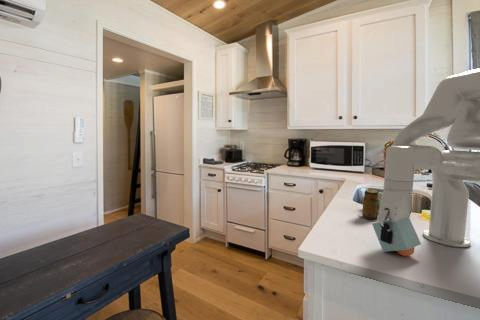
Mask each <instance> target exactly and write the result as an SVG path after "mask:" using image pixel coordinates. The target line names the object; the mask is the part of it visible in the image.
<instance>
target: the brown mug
mask: <svg viewBox="0 0 480 320" xmlns="http://www.w3.org/2000/svg"><path fill="white" fill-rule="evenodd" d="M363 195H364V196H363V198H362V199H363V200H362V213H361V214H357V216H358V217H360V218H363V219H365V220H367V221H370V222H373V223H375V222H379V221H378V218H379V214H378V202H379V199H378V192H376V191H371V190H368V189H367V190H364V194H363Z"/></svg>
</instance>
